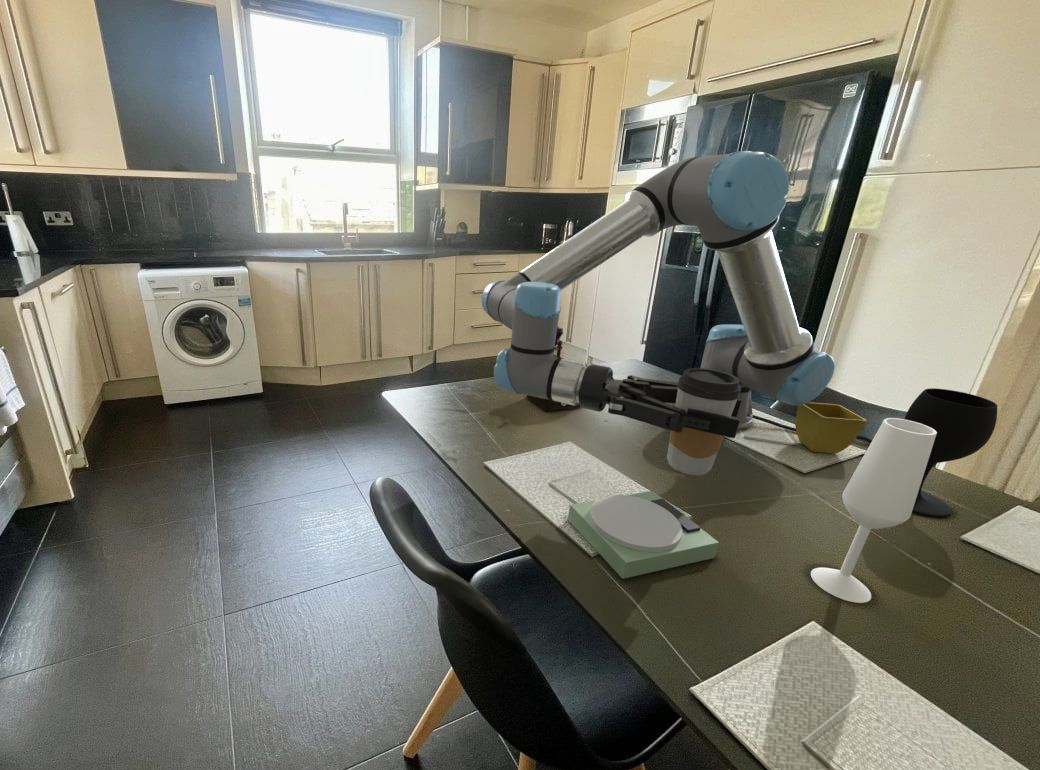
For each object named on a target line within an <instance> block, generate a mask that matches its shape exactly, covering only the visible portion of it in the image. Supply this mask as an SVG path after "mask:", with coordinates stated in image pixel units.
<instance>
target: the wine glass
mask: <svg viewBox="0 0 1040 770" xmlns="http://www.w3.org/2000/svg"><path fill="white" fill-rule="evenodd" d="M904 420H909V421H913V422H917V423H920V424H923V425H926V426H928V427H931V428H933V429H934V430H935V431H936V432H937V434H936V437H935V440H934V443H933V447H932V450H931V453H930V456H929V459H928V463H927V466H926V469H925V472H924V475H923V478H922V482H921V485H920V488H919V491H918V494H917V497H916V501H915V504H914V507H913V510H912V513H911V514H915V515H919V516H924V517H930V518H947V517H949V516H950V515H951V514H952V509H951V507H950V505H948V504H947V503H946V502H944V501H943V500H942V499H940V498H938V497H936V496H935V495H932V494H931V493H928V492H925V491H923V490H922V488H923V486H924V483H925V480H926V479H927V477H928V475H929V473H930V472H931V470H932V469H933V467H934V466H935V465H937V464H940V463H945V462H946V463H947V462H952V461H957V460H961V459H965V458H966V457H969V456H971V455H973V454H975V453H977V452H978V451H979V450H981V449H982V448H983V447H984V446H985V445H986V444H987V443H988V442H989V441H990V438H991V437H992V435H993V433H994V431H995V427H996V424H997V420H998V404H997V403H996V402H995V401H992V400H990V399H987V398H985V397H982V396H979V395H975V394H971V393H968V392H965V391H964V392H963V391H958V390H952V389H947V388H946V389H945V388H934V387H933V388H931V387H930V388H925V389H924V390H922V392H920V394H919V395H918V396H917V397H915V399H914V400H913V402H912V403H911V404H910V406H909V408H908V410H907V411H906V413H905V416H904Z"/></svg>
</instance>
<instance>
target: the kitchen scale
mask: <svg viewBox="0 0 1040 770" xmlns="http://www.w3.org/2000/svg"><path fill="white" fill-rule="evenodd" d="M567 514H568V515H567V520H568V521H569V523H571V525H572V526H573V527H574V528H575V529H576V530H577V531H578V532H579V534H581V535H582V537H583V538H584V540H586V541H587V542H588V543H589V544H590V546H592V548H593V549H595V551H596V552H597V553H598V554H599V555H600V556H601V557H602V558H603V559H604V561H605V562H606V563H607V564H608V565H609V566H610V567H611V568H612V569H613V571H615V573H616V574H617V575H618V576H619V577H620V578H621V579H622V580H623V579H624V580H625V579H628V578H632V577H636V576H637V577H638V576H642V575H645V574H650V573H654V572H655V573H656V572H659V571H664V570H667V569H672V568H676V567H680V566H685V565H690V564H693V563H699V562H702V561H706V560H711V559H715V557H716V554H717V550H718V547H719V544H720V542H719V541H718V540H717V539H716V538H714V537H713V536H711V535H710V534H709V533H708V532H706V530H704V529H702V528H701V526H699V524H697V523H696V522H694V520H692V519H690V518H689V517H688V516H687V515H685V514H684V513H682V512H681V511H680V510H679V509H678V508H676V507H675V506H673V505H672V504H671V503H669V502H668V501H667V500H666V499H664V498H663V497H661V496H659V494H657V493H656V492H654V491H653V490H649V491H648V490H647V491H644V492H643V491H642V492H638V493H631V494H612V495H605V496H603V497H600V498H598V499H596V500H595V499H594V500H590V501H584V502H577V503H572V504H569V508H568V513H567Z"/></svg>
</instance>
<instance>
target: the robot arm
mask: <svg viewBox="0 0 1040 770" xmlns="http://www.w3.org/2000/svg"><path fill="white" fill-rule="evenodd" d="M789 190H790V180H789V175H788V172H787V170H786V168H785V166H784V165H783V162H781V160H779V158H777V157H776V156H774V155H772V154H771V153H767V152H763V151H751V150H739V151H734V152H730V153H724V154H715V155H704V156H693V157H688V158H685V159H683V160H680V161H678V162H676V163H673V164H671V165H669V166H668V167H666V168H664V169H662V170H661V171H660V172H658V173H656V174H654V175H653V176H651V177H649V178H647V180H645V181H643V182H642V183H641V184H639V185H637V186H636V187H635V188H633V189H632V190H630V191H629V192H627V193H626V195H625V196H624V198H623V202H622V203H621V204H619V205H617V206H616V207H615V208H613V209H611V210H609V211H608V212H607V213H606V214H604V215H602V216H601V217H599V218H598V219H596V220H594V221H593V222H592V223H590V224H589V225H587V226H586V227H584V228H583V229H582V230H580V231H578V232H577V233H576V234H574V235H572V236H571V237H570V238H567V240H565V241H563V242H562V243H561V244H559V245H558V246H556V247H555V248H553V249H552V250H550V251H549V252H547V253H546V254H544V255H543V256H542V257H540V258H539V259H537V260H535V261H534V262H532V263H531V264H530V265H528V266H527V267H525V268H523V269H522V270H521V271H519V272H517V273H516V274H514V275H512V276H511V277H510V278H508V279H507V280H504V279H503V280H495V281H492V282H491V283H489V284H488V285H486V287H485V288H484V290H483V292H482V294H481V307H482V309H483V311H484V312H485V313H486V314H487V315H488V316H489V317H490V318H491V319H492V320H493V321H495V322H498V323H500V324H502V325H504V326H505V327H506V328H508V329H509V330H511V339H510V347H505V348H503V349H502V350H501V351H500V352H499V353H498V355H497V357H496V360H495V365H494V366H493V379H494V382H495V384H496V386H498V387H499V388H500V389H503V390H507V391H510V392H513V393H515V394H518V395H524V396H527V395H529V396H534V397H538V398H543V399H548V400H551V401H556V402H561V405H563V406H565V405H566V404H569V405H573V406H576V405H578V404H579V405H580V406H581V407H580V408H581V409H584V410H589V411H594V412H597V413H600V412H602V411H604V409H605V408H606V406H607V405H608V410H607V413H608V414H611V415H616V416H622V417H626V418H629V419H632V420H635V421H639V422H642V423H645V424H649V425H651V426H656V427H657V428H661V429H664V430H668V431H670V432H671V431H675V432H682V428H683V425H684V427H687V428H691V429H695V430H700V431H704V432H708V433H713V434H717V435H721V436H724V437H727V438H730V439H736V435H737V433H738V430H745V429H748V428H750V427H751V425H752V422H753V419H754V420H756V421H757V420H758V421H761V422H764V423H767V424H770V425H773V426H776V427H778V428H780V429H781V428H782V429H785V430H787V431H792V432H795V433H797V432H796V427H792V426H789V425H785V424H782V423H780V422H776V421H774V420H771V419H767V418H765V417H761V416H759V415H755V414H754V413H753V403H752V390H753V391H756V392H758V393H760V394H762V395H765V396H767V397H769V398H771V399H773V400H776V401H778V403H785V404H788V405H790V406H798V405H803V404H806V403H808V402H812V401H813V400H815V399H816V398H817V397H819V396H820V395H821V394H822V393H823V391H825V389H826V388H827V387H828V385H829V383H830V382H831V380H832V378H833V376H834V372H835V368H836V367H835V366H836V364H835V359H834V358H833V356H832V355H830V354H828V353H827V352H825V351H818V350H817V349H816V348H815V344H814V340H813V336H812V335H811V333H810V332H809V330H807V329H805V328H803V327H800V326H799V322H798V319H797V315H796V312H795V308H794V305H793V300H792V297H791V295H790V291H789V286H788V283H787V280H786V277H785V273H784V269H783V266H782V262H781V259H780V255H779V252H778V249H777V245H776V241H775V238H774V234H773V229H774V228H775V227H776V225H777V224H778V222H779V220H780V215H781V213H782V211H783V210H784V208H785V206H786V203H787V199H785V196H786V195H788V194H789ZM676 226H692V227H697V228H698V231H699V233H700V236H701V240H702V243H703V245H704V246H705V247H706V248H707V249H708V250H711V251H715V252H717V254H718V257H719V261H720V263H721V267H722V268H723V272H724V274H725V277H726V280H727V283H728V287H729V289H730V292H731V295H732V298H733V300H734V303H735V306H736V309H737V312H738V315H739V318H740V321H741V323H742V324H717V325H714V326H713V327H711V329H710V330H709V333H708V336H707V339H706V340H705V345H704V349H703V353H702V359H701V363H700V367H699V368H705V369H713V370H718V371H722V372H726V373H729V374H731V375H734V376H736V377H737V378H738V379H739V380H740V383H739V386H740V387H741V391H740V397H739V398H738V399H737V401H736V404H735V407H734V409H733V412H732V415H731V417H728V416H724V415H719V414H714V413H709V412H705V411H700V410H695V409H691V408H688V411H686V410H683V409H680V408H678V407H675V405H672V404H676V398H677V392H678V387H677V384H678V382H673V381H665V380H661V379H660V380H659V379H651V378H645V377H640V376H636V375H635V376H634V375H632V374H629V375H627V378H623V379H616V378H614V371H613V368H611V367H610V366H604V365H600V364H593V363H591V364H589V365H588V364H587V362H584V361H581V360H580V361H579V360H574V359H570V358H569V359H570V360H569V359H568V358H562V357H560V358H557V357H556V356H555V355H554V353H555V350H554V348H555V347H556V346H555V339H556V333H557V327H559V320H560V319H559V318H560V313H561V309H562V308H561V300H562V299H561V298H562V291H563V290H565V289H566V288H568V287H569V286H570V285H572V284H574V283H575V282H576V281H578V280H579V279H581V278H583V277H584V276H586V275H587V274H588V273H590V272H591V271H593V270H594V269H596V268H598V267H599V266H600V265H602V264H603V263H605V262H606V261H608V260H609V259H611V258H613V257H614V256H615V255H617V254H619V253H620V252H621V251H623V250H624V249H626V248H627V247H629V246H631V245H632V244H633V243H635V242H636V241H638V240H640V239H641V238H643V237H645V238H646V237H647V238H651V237H654V236H655V235H657V234H658V233H659V232H662V231H664V230H665V229H669V228H672V227H676ZM686 412H687V414H686ZM856 439H857V440H862V441H864V442H867V443H868V444H869V445H870V444H871V442H872V440H873V439H871V438H869V437H866V436H864V435H860V434H859V435H858V436H857V438H856ZM856 439H855V440H856Z"/></svg>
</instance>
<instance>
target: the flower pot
mask: <svg viewBox="0 0 1040 770" xmlns="http://www.w3.org/2000/svg"><path fill="white" fill-rule="evenodd" d="M867 421H868V420H867V418H864V417H862V416H860V415H859V414H857V413H855V412H853V411H851V410H850V409H848V408H846V407H844V406H843V405H841V404H834V403H825V402H812V401H810V402H808V403H806V404H803V405H797V411H796V416H795V423H794V424H795V428H796V432H795V433H796V436H797V438H798V441H799V443H801V444H802V445H804V446H805V447H806V448H807V449H809V450H810V451H811V452H813V453H823V454H824V453H825V454H839V453H841V452H843V451H844V450H846V449H847V448H848V447H850V446H851V445H852V444H853V443H854V442H855V440H856V438H857V436H858V435H859V436H860V433H861V432H862V430H863V428H864V427H865V425H866V423H867Z"/></svg>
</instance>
